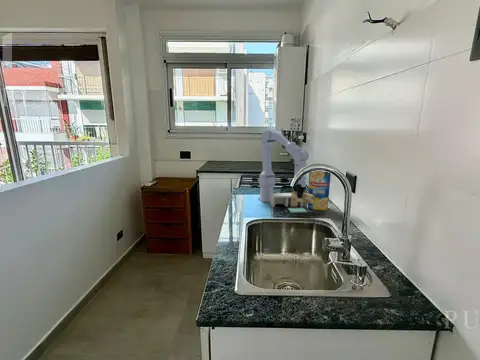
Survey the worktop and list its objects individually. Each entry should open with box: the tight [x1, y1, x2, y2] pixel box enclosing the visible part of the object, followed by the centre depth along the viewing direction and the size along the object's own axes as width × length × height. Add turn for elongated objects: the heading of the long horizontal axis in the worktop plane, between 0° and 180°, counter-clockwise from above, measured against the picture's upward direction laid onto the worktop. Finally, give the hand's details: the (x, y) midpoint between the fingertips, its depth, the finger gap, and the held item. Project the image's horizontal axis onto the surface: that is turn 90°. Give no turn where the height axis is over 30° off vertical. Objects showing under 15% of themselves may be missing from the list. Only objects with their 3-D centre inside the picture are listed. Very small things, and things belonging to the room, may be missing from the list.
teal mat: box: [287, 207, 308, 214], centre depth 150 cm, size 7×9×1 cm
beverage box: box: [306, 171, 332, 211], centre depth 154 cm, size 7×11×22 cm, turn 81°
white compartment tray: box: [269, 192, 304, 208], centre depth 160 cm, size 7×18×6 cm, turn 98°
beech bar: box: [291, 190, 315, 204], centre depth 149 cm, size 12×4×4 cm, turn 98°
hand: (298, 196), depth 148 cm, fingers closed on beech bar, 4 cm apart
